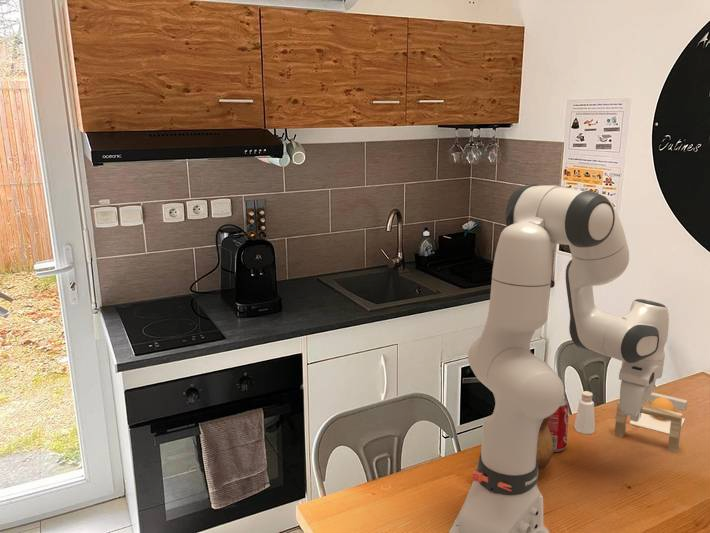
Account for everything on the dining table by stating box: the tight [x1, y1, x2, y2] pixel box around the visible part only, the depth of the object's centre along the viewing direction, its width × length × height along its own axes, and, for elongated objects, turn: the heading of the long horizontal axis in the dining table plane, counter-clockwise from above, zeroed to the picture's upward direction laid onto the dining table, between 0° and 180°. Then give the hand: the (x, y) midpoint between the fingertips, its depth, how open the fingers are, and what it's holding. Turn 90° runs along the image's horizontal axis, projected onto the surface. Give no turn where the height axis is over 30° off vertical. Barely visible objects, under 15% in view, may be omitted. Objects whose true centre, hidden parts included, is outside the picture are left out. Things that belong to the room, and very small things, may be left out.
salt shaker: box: [573, 390, 596, 435], centre depth 161 cm, size 5×5×11 cm
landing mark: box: [629, 413, 686, 435], centre depth 166 cm, size 12×12×1 cm
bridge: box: [614, 399, 683, 454], centre depth 154 cm, size 3×15×10 cm, turn 52°
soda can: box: [548, 397, 570, 453], centre depth 152 cm, size 7×7×13 cm
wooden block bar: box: [647, 391, 688, 411], centre depth 176 cm, size 2×10×2 cm, turn 52°
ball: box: [650, 398, 675, 419], centre depth 167 cm, size 6×6×6 cm
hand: (635, 419), depth 142 cm, fingers closed
